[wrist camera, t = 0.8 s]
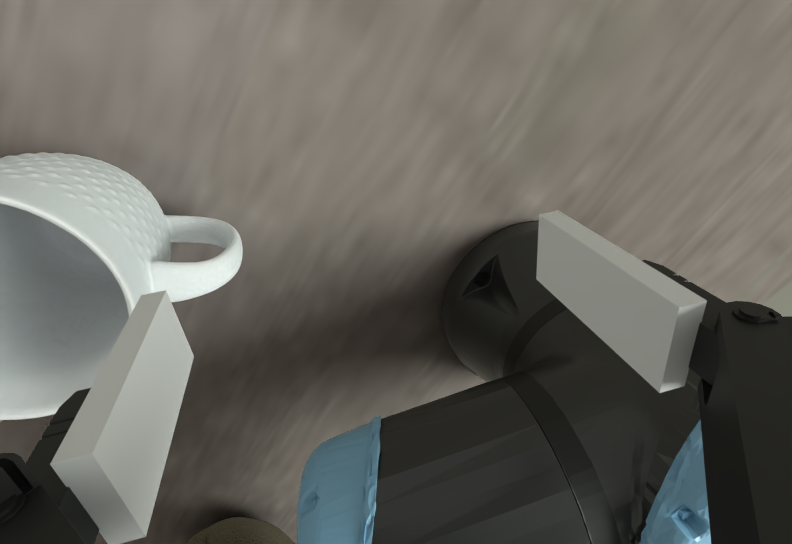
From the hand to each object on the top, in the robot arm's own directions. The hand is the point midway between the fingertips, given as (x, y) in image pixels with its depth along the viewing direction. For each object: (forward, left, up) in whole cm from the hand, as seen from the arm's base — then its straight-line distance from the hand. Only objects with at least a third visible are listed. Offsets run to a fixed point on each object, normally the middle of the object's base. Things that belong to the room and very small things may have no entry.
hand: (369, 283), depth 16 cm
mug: (-1, +14, -18) cm, 23 cm away
